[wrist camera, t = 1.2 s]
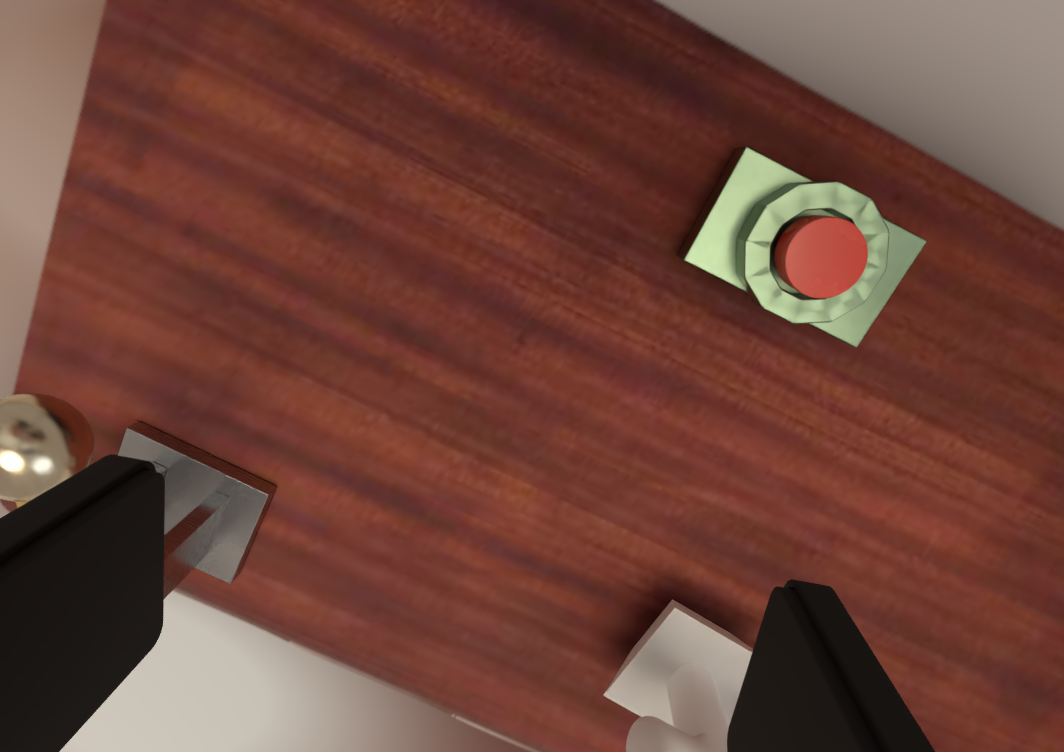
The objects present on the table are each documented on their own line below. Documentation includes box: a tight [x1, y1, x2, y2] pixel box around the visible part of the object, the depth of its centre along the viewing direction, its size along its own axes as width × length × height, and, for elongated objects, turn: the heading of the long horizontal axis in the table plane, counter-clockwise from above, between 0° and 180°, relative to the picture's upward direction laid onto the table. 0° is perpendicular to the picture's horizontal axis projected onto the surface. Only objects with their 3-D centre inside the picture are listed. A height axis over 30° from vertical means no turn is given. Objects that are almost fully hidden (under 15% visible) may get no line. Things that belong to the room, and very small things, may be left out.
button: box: [774, 215, 868, 298], centre depth 31 cm, size 4×4×2 cm
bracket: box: [118, 421, 277, 600], centre depth 36 cm, size 7×9×13 cm
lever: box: [0, 394, 94, 508], centre depth 27 cm, size 16×4×4 cm, turn 153°
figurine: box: [603, 599, 753, 752], centre depth 35 cm, size 7×9×15 cm
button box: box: [678, 146, 927, 347], centre depth 33 cm, size 10×6×4 cm, turn 64°
